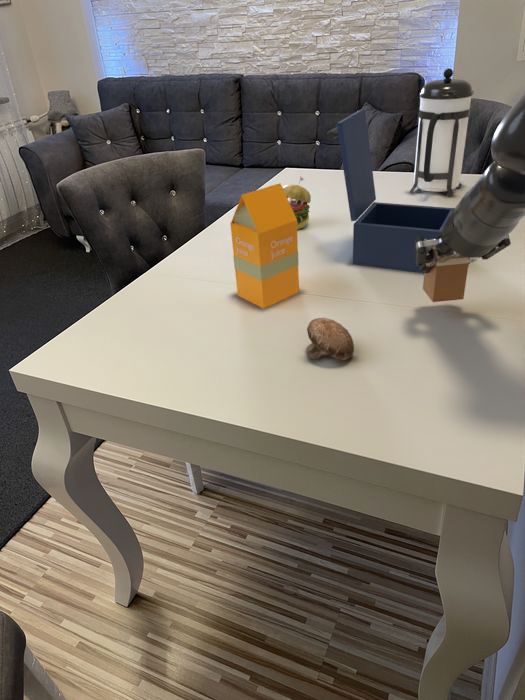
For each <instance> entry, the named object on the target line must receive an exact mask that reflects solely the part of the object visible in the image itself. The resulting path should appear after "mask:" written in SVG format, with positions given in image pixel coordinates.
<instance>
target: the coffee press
mask: <svg viewBox="0 0 525 700" xmlns="http://www.w3.org/2000/svg"><path fill="white" fill-rule="evenodd" d="M442 74H443V77H444V79H436V80H432V81H429V82H427V83H425V84H424V85H423V87H422V88H421V91H420V92H419V95H418V96H419V99H420V101H419V108H418V113H417V114H418V115H417V116H418V127H417V136H416V137H417V138H416V149H415V159H414V160H415V161H414V162H415V163H414V174H413V186H412V187H411V189H410V190H409V193H410V194H411V195H413V194H414V193H415V194H419V193H420V192H421V191H424V192H425V191H426V192H434V193H435V192H441V193H443V194H444V196H445V197H447V198H452V197H454V192H453V190H454V189H458V190H459V189H461V188H462V185H463V184H462V183H461V177H462V169H463V164H464V163H463V161H464V156H465V155H464V154H465V148H466V140H467V133H468V132H467V131H468V125H469V117H470V116H471V107H472V106H471V102H472V101H471V100H472V97H473V96H474V90H473V88H472V85H471V83H470V82H469V81H467V80H464V79H458V78H452V77H453V75H454V71H453V69H452V68H446V69H444V71H443V73H442Z"/></svg>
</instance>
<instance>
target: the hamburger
mask: <svg viewBox="0 0 525 700" xmlns="http://www.w3.org/2000/svg"><path fill="white" fill-rule="evenodd" d="M302 181H305V178H304V177H302V176H301V175H300V176H299V183H298V184H294V183H292V184H291V183H290V184H286V185H282V188H283V190H284V192H285V195H286V197H287V199H288V201H289V203H290V206H291V208H292V210H293V212H294V214H295V217H296V219H297V231H299V230H301V229H302V228H304V227H305V226H306V225H307V224H308V222H309V220H310V215H309V213H310V208H311V206H310V203H311V199H312V197H311V194H310V192H309V190H308V189H307V188H306V187H303V186H302V185H300V182H302ZM289 199H290V200H289Z"/></svg>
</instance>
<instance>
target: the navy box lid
mask: <svg viewBox="0 0 525 700" xmlns="http://www.w3.org/2000/svg"><path fill="white" fill-rule="evenodd" d="M326 138H327V140H328V141H333V140H334V139H336V138H338V142H339V149H340V156H341V162H342V170H343V176H344V182H345V189H346V196H347V202H348V209H349V215H350V221H351V222H356V221H357V220H358V219H359V218H360V217H361V216H362V214H363V213H364V212H365V211H366V210H367V209H368V208H369V207H370V206H371V205H372V204H373V203H374V202H376V200H377V196H376V188H375V180H374V172H373V164H372V156H371V155H372V154H371V149H370V147H371V146H370V141H369V131H368V125H367V116H366V109H365V108H363V109H362V108H361V109H358V110H357V111H355V112H354V113H352V114H350V115H348V116H347V117H345V118H343V119H341V120H340V121H338V122H337V123H336V127H335V128H333V129H331V130H329V131H328V132H327V134H326Z"/></svg>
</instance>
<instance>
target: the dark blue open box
mask: <svg viewBox="0 0 525 700" xmlns="http://www.w3.org/2000/svg"><path fill="white" fill-rule="evenodd" d="M455 208H456V207H444V206H429V205H418V204H403V203H402V204H401V203H389V202H379V201H378V202H377V201H374V202H373V203H372V204H371V205H370V206H369V207H368V208H367V209H366V211H365V212H364V213H363V214H362V215H361V216H360V217H359V218H358V219H357V220H356V221H354V223H353V228H352V229H353V231H352V265H353V266H354V265H355V266H356V265H357V266H362V267H370V268H371V267H372V268H378V269H387V270H393V271H395V270H396V271H403V272H410V273H417V274H418V273H420V274H423V271H421V270H420V266H416V259H415V254H414V245H415V239H416V238H417V237H419V236H423V237H424V239H427V240H432V239H435V237H436V235H438V234H440V233H441V232H443V229H444V225H445V223H446V220H447V219H448V217H449V216H450V214H451V213H452V212H453V210H454V209H455Z"/></svg>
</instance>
